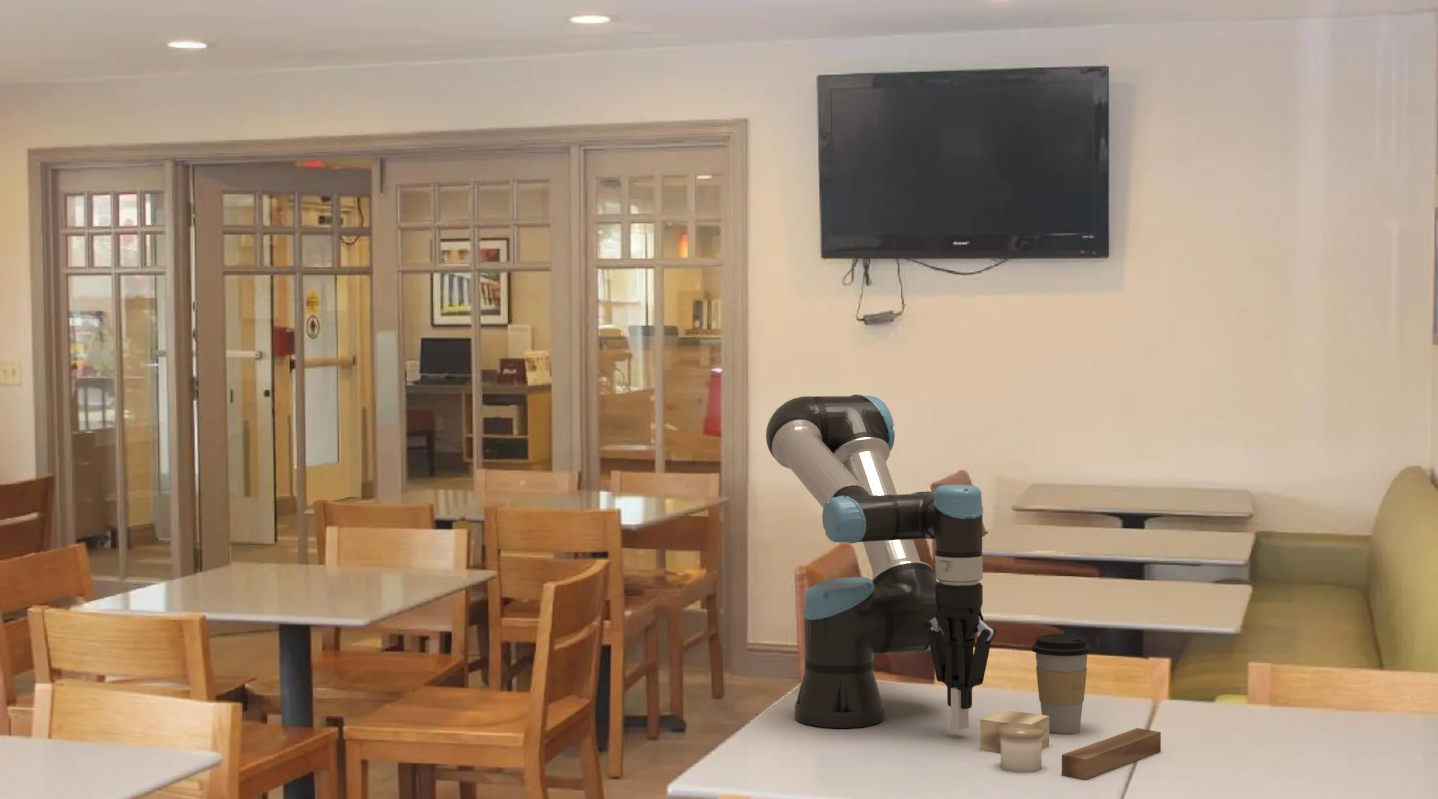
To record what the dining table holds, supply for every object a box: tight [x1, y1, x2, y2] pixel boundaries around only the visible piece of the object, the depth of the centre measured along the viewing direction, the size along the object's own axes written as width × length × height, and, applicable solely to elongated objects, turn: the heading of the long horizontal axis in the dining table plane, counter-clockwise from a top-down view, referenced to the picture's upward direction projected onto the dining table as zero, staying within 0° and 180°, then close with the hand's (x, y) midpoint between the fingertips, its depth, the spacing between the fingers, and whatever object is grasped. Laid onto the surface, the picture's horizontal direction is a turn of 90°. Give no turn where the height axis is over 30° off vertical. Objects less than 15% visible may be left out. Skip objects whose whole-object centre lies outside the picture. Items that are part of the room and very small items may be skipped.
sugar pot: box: [999, 723, 1043, 773], centre depth 242 cm, size 7×7×6 cm
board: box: [1061, 727, 1162, 781], centre depth 243 cm, size 4×22×3 cm, turn 136°
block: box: [979, 709, 1050, 754], centre depth 253 cm, size 8×8×5 cm
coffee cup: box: [1031, 633, 1092, 735], centre depth 264 cm, size 9×9×15 cm
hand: (959, 727), depth 260 cm, fingers closed
